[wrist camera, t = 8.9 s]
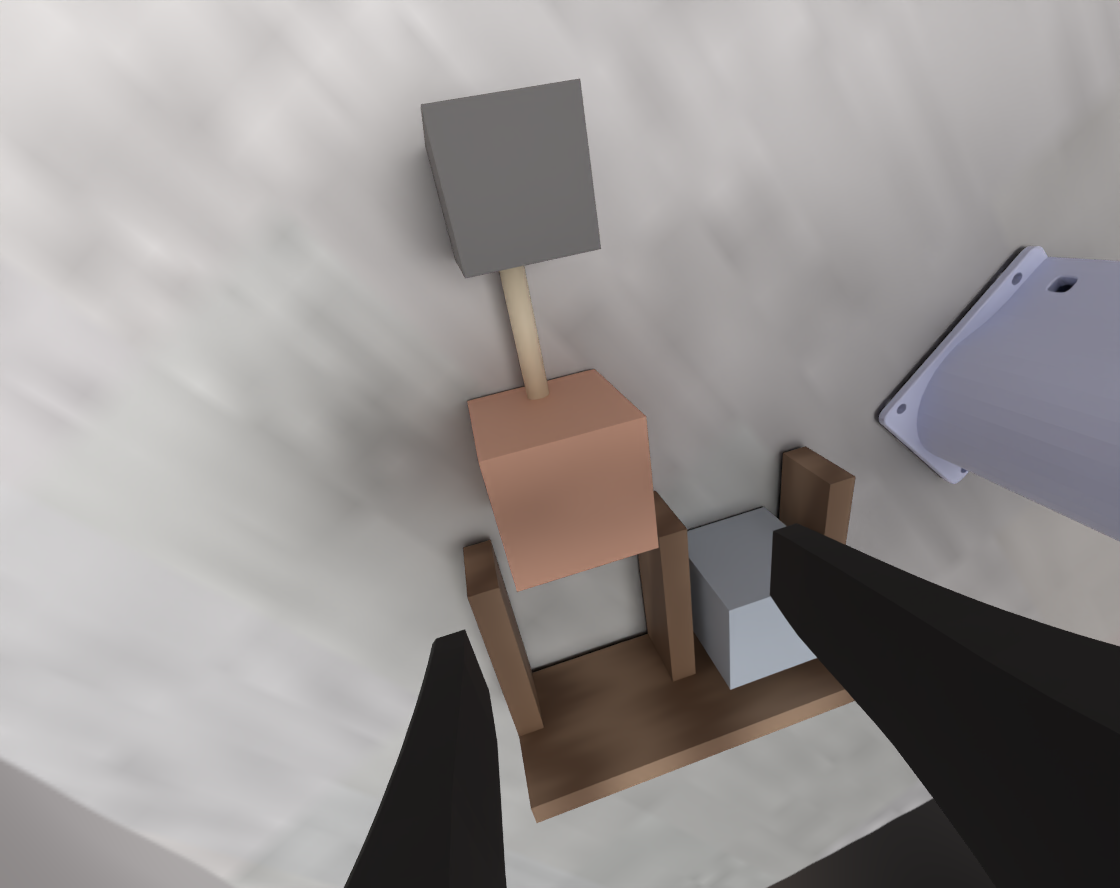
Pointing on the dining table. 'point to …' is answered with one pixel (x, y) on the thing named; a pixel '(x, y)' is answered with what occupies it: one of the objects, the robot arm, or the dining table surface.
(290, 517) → the dining table surface
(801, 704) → the shelf lanes
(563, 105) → the block
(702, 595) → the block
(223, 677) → the dining table surface
